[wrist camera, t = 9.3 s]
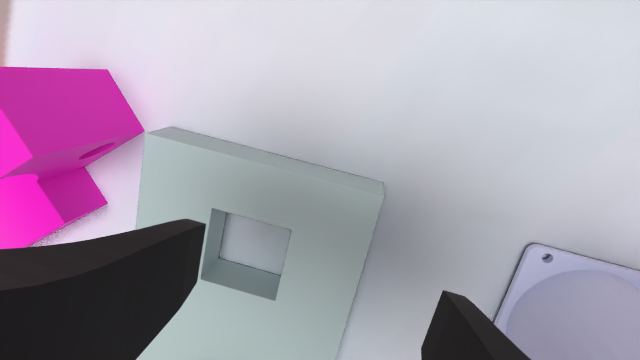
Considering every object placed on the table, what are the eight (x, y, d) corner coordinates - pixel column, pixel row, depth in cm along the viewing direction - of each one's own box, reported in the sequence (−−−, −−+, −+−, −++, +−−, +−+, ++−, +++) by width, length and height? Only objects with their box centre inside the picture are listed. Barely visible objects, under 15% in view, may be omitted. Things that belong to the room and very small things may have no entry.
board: (383, 182, 20) (384, 196, 18) (302, 456, 26) (295, 494, 24) (171, 126, 21) (145, 133, 19) (137, 403, 27) (114, 435, 24)
